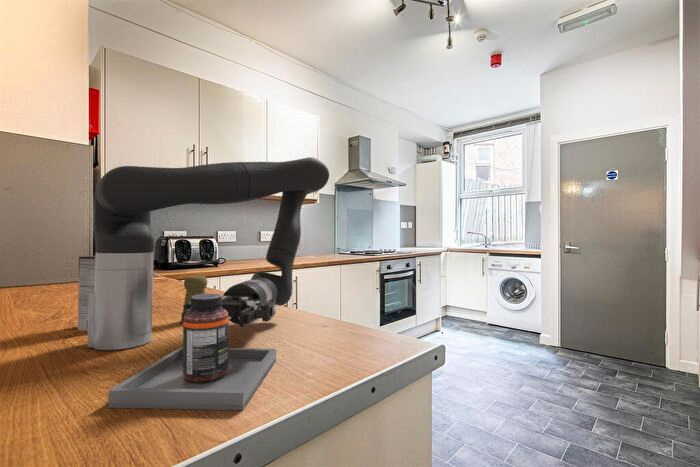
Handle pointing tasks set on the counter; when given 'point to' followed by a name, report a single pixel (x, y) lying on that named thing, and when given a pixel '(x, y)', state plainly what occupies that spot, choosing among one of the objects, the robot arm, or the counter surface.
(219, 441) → the counter surface
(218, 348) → the supplement bottle
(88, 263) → the coffee box
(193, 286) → the cork
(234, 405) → the tray
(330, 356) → the counter surface
